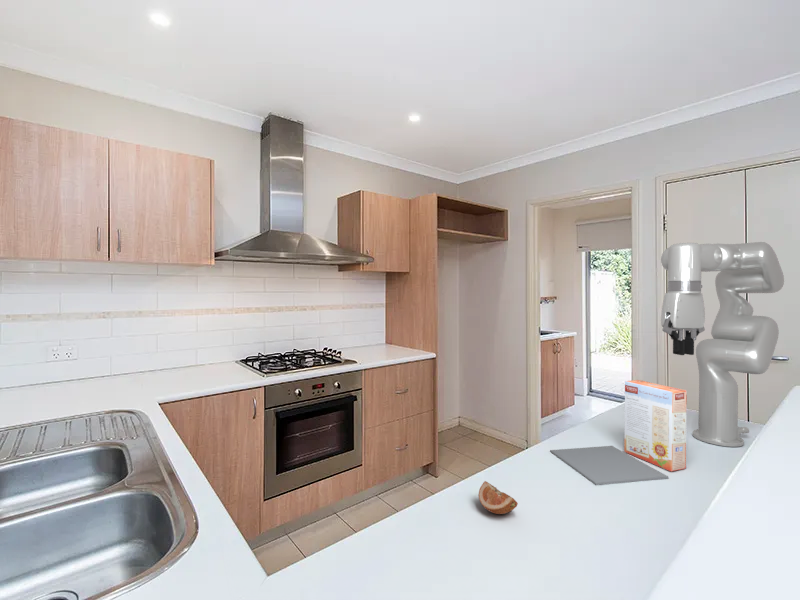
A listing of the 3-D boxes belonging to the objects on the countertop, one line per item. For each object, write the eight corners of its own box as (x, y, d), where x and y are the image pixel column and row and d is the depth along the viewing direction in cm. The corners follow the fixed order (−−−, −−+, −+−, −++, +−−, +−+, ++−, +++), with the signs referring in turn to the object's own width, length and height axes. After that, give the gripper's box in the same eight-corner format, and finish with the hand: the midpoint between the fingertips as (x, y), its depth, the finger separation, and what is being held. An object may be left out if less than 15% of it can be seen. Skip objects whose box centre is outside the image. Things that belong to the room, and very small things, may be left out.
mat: (611, 447, 117) (611, 445, 117) (668, 478, 97) (668, 476, 97) (550, 451, 114) (550, 450, 114) (595, 485, 94) (595, 483, 94)
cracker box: (687, 469, 103) (688, 389, 102) (670, 473, 101) (671, 391, 100) (638, 449, 116) (639, 378, 115) (623, 452, 114) (623, 380, 113)
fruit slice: (524, 517, 80) (524, 493, 80) (499, 527, 77) (500, 502, 77) (495, 499, 88) (495, 477, 88) (471, 507, 84) (472, 484, 84)
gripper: (696, 288, 114) (695, 351, 114) (648, 288, 111) (647, 353, 111) (721, 288, 106) (720, 355, 107) (670, 287, 104) (669, 357, 104)
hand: (683, 353), depth 109 cm, fingers closed
